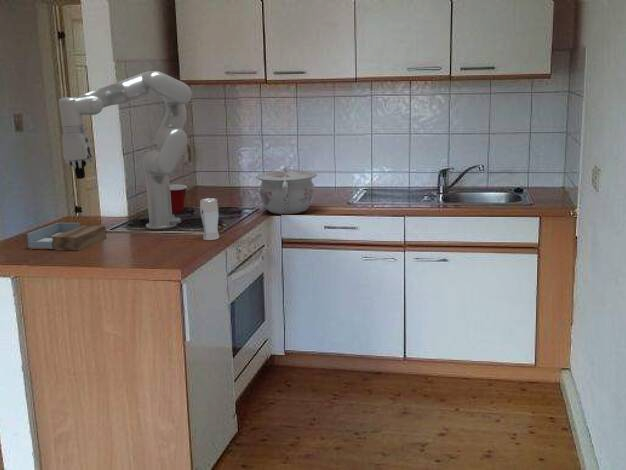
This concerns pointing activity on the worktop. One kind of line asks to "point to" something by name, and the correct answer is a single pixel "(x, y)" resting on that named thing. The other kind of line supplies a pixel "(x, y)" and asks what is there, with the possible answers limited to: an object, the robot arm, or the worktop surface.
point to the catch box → (48, 234)
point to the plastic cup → (177, 197)
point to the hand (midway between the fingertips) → (80, 178)
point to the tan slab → (79, 237)
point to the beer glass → (209, 218)
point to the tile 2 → (46, 240)
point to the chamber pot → (287, 191)
